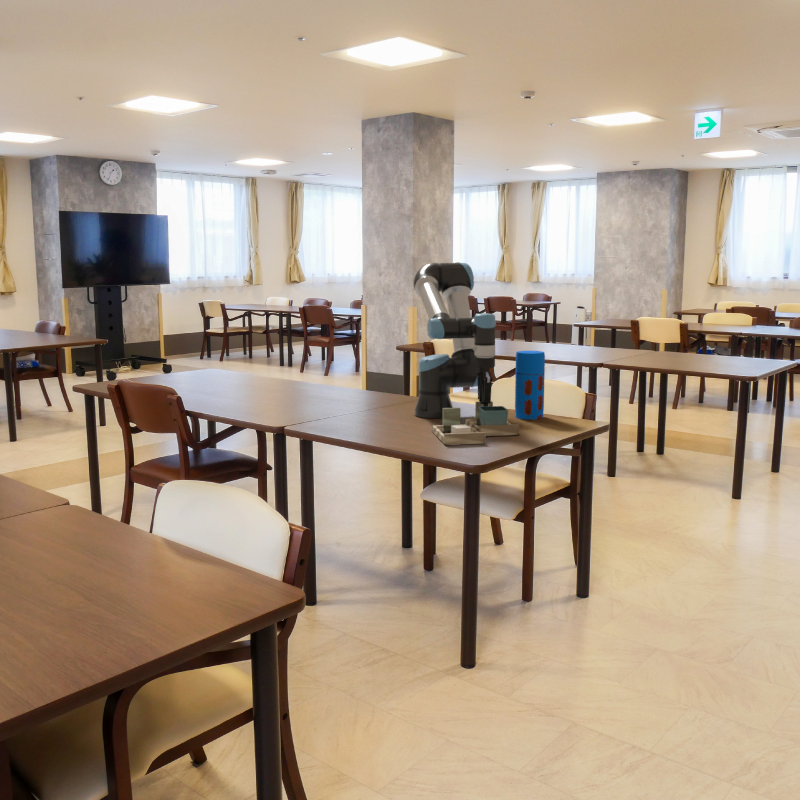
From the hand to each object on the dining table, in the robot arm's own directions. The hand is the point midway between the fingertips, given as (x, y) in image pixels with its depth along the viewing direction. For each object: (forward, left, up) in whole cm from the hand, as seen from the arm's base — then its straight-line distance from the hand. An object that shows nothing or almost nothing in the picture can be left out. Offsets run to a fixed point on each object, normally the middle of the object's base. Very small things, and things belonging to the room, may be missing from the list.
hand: (484, 420), depth 305 cm
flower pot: (+17, -1, -2) cm, 17 cm away
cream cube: (+27, -15, -2) cm, 30 cm away
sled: (+22, -15, -1) cm, 26 cm away
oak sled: (+11, 0, -1) cm, 11 cm away
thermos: (-11, +20, -2) cm, 23 cm away
